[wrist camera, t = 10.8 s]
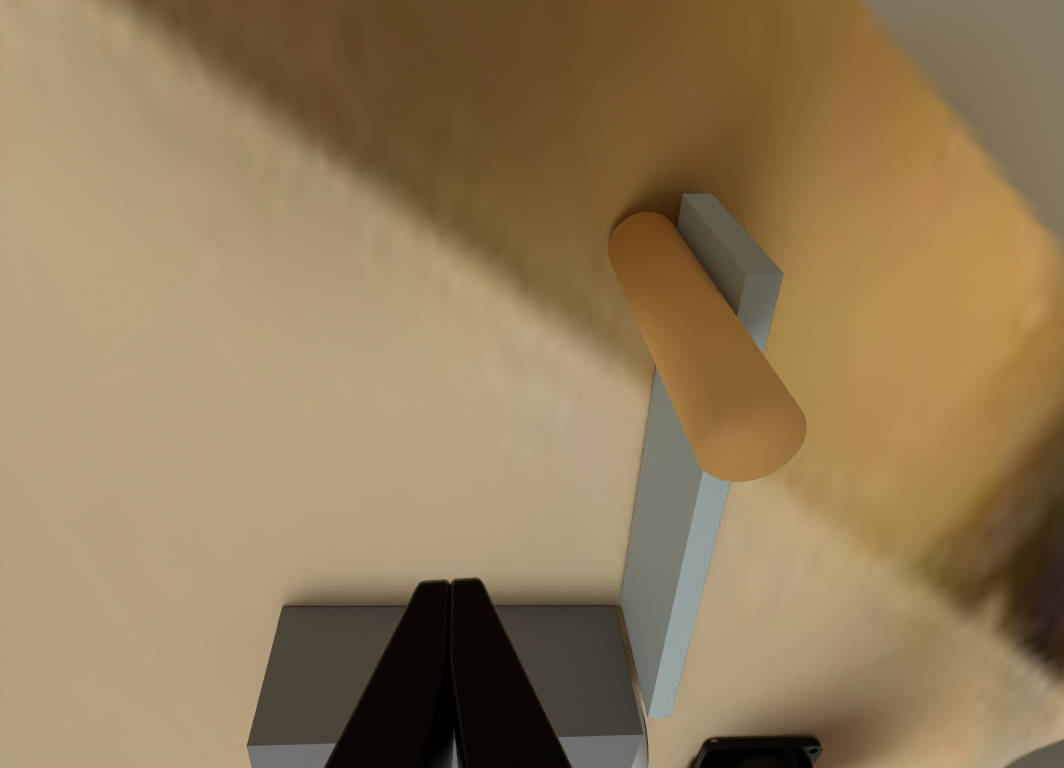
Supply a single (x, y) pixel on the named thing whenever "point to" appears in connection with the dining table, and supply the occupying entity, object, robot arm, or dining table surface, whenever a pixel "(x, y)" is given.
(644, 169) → the dining table surface
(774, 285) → the grey and orange bar
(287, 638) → the block
